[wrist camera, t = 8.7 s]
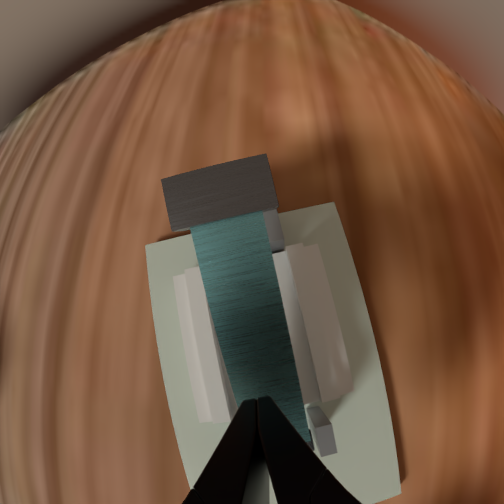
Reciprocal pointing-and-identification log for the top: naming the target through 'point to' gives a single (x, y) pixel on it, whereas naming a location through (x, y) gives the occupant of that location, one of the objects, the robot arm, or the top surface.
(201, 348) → the heatsink board
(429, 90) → the top surface
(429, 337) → the top surface
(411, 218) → the top surface
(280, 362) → the lever
